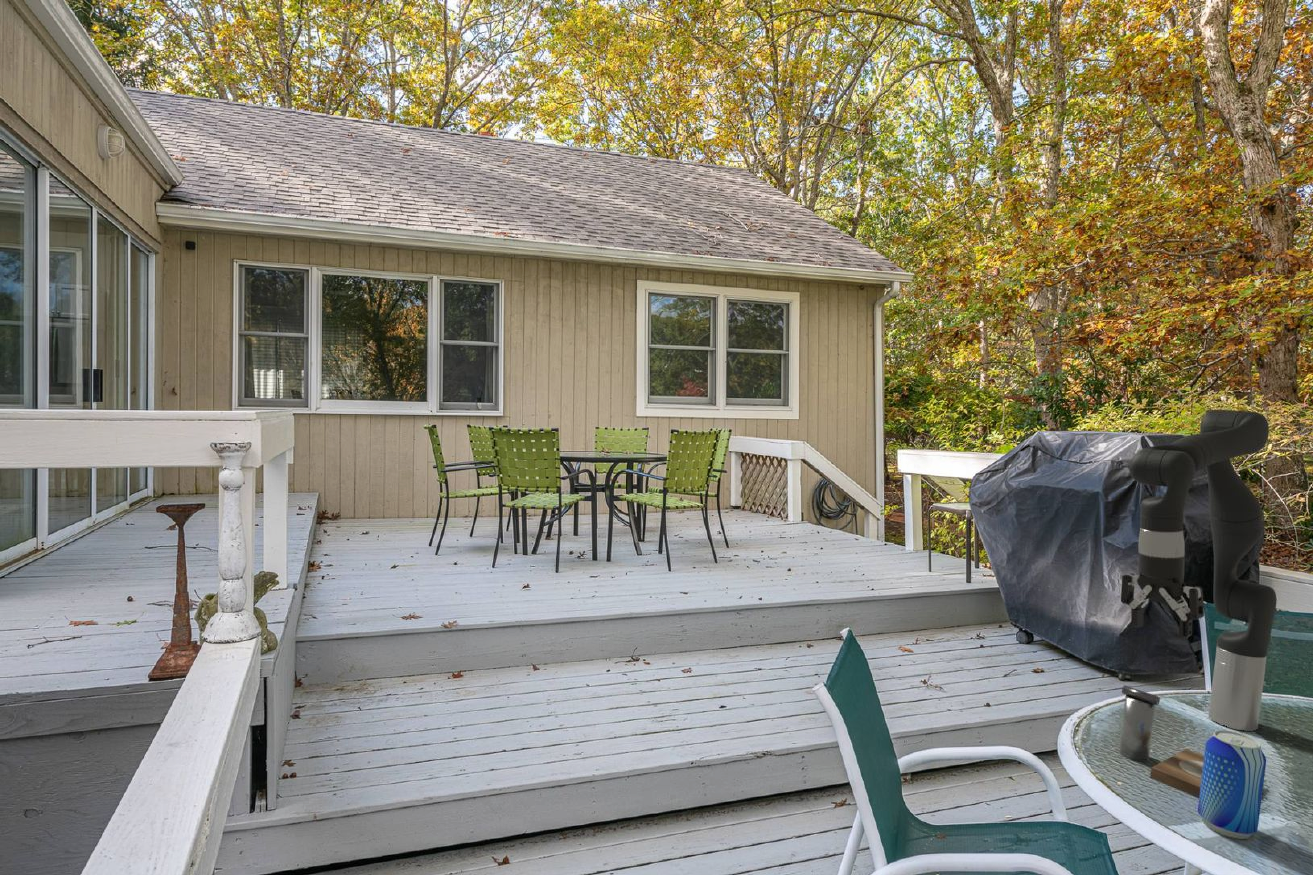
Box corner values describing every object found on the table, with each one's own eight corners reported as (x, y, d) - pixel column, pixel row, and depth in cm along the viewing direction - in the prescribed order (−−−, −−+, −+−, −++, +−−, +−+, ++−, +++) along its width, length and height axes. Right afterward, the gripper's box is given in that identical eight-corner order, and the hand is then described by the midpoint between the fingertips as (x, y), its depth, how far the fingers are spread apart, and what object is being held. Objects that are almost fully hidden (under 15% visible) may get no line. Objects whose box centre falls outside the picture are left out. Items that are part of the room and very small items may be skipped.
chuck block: (1185, 757, 159) (1186, 747, 159) (1254, 784, 150) (1256, 774, 149) (1150, 777, 150) (1151, 766, 150) (1222, 807, 140) (1223, 795, 140)
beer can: (1185, 813, 138) (1195, 726, 136) (1228, 813, 138) (1239, 727, 137) (1223, 841, 129) (1234, 750, 128) (1269, 841, 130) (1281, 750, 129)
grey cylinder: (1123, 746, 163) (1130, 683, 162) (1156, 759, 158) (1164, 694, 157) (1111, 751, 160) (1118, 687, 159) (1144, 765, 155) (1152, 699, 154)
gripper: (1211, 555, 146) (1210, 638, 147) (1134, 542, 159) (1134, 619, 160) (1190, 561, 143) (1189, 646, 144) (1113, 548, 155) (1113, 626, 156)
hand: (1160, 632), depth 152 cm, fingers open, 8 cm apart
